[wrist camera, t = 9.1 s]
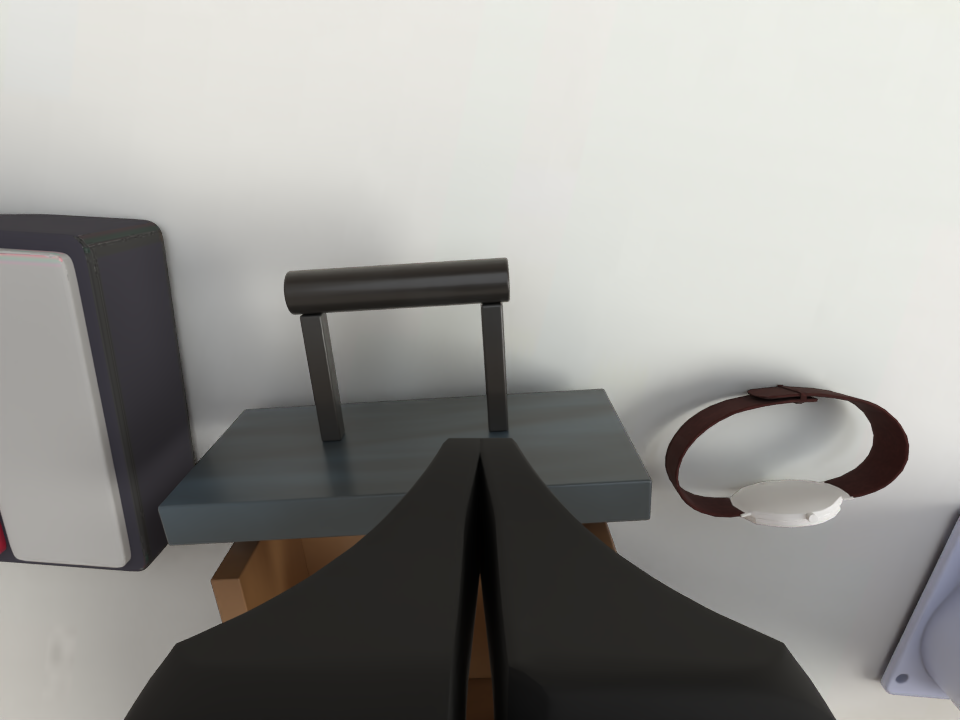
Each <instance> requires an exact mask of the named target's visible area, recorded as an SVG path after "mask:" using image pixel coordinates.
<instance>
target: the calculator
mask: <svg viewBox="0 0 960 720" xmlns="http://www.w3.org/2000/svg"><path fill="white" fill-rule="evenodd" d="M194 466H195V461H194V454H193V447H192V440H191V433H190V426H189V419H188V412H187V404H186V397H185V390H184V383H183V376H182V369H181V362H180V355H179V348H178V341H177V334H176V327H175V320H174V313H173V306H172V299H171V292H170V284H169V277H168V270H167V263H166V256H165V249H164V242H163V237H162V233H161V231H160V229H159V227H158V226H157V225H156V224H154V223H153V222H151V221H147V220H135V219H119V218H102V217H84V216H66V215H45V214H17V215H0V561H2V562H15V563H29V564H42V565H55V566H68V567H82V568H95V569H108V570H121V571H142V570H145V569H146V568H147V567H148V566H149V565H150V564H151V563H152V562H153V560H154V559H155V558H156V557H157V556H158V555H159V554H160V553H161V551H162V550H163V549H164V548H165V547H166V546H167V544H168V541H167V538H166V534H165V531H164V528H163V524H162V521H161V518H160V515H159V511H158V507H159V505H160V504H161V503H162V502H163V501H164V500H165V499H166V498H167V496H168V495H169V494H170V493H171V492H172V491H173V490H174V489H175V487H176V486H177V485H178V484H179V483H180V482H181V481H182V480H183V479H184V477H185V476H186V475H187V474H188V473H189V472H190V471H191V470H192V468H193V467H194Z"/></svg>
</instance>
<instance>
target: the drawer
mask: <svg viewBox="0 0 960 720" xmlns="http://www.w3.org/2000/svg"><path fill="white" fill-rule="evenodd" d="M284 295H285V301H286V304H287V307H288V309H289V311H290V312H291V313H292V314H294V315H300V314H303V315H302V316H300V321H301V327H302V332H303V338H304V344H305V349H306V355H307V361H308V366H309V372H310V377H311V383H312V389H313V394H314V400H315V405H314V406H296V407H279V408H262V409H246V410H244V411H243V413H242V414H241V415H240V416H239V417H238V418H237V419H236V420H235V421H234V423H233V424H232V425H231V426H230V427H229V428H228V429H227V430H226V432H225V433H224V434H223V435H222V436H221V437H220V438H219V439H218V440H217V442H216V443H215V444H214V445H213V446H212V447H211V448H210V449H209V451H208V452H207V453H206V454H205V455H204V456H203V457H202V458H201V460H200V461H199V462H198V463H197V464H196V465H195V466H194V467H193V468H192V470H191V471H190V472H189V473H188V474H187V475H186V476H185V477H184V479H183V480H182V481H181V482H180V483H179V484H178V485H177V486H176V487H175V489H174V490H173V491H172V492H171V493H170V494H169V495H168V496H167V498H166V499H165V500H164V501H163V502H162V503H161V504H160V505H159V507H158V511H159V515H160V518H161V521H162V524H163V528H164V531H165V534H166V538H167V541H168V544H169V545H190V544H208V543H227V542H234V543H233V545H232V547H231V548H230V550H229V551H228V553H227V555H226V556H225V558H224V560H223V561H222V563H221V564H220V566H219V568H218V569H217V571H216V572H215V574H214V576H213V577H212V579H211V584H212V588H213V591H214V595H215V598H216V602H217V605H218V609H219V613H220V616H221V620H222V623H224V622H226V621H228V620H230V619H232V618H234V617H237V616H239V615H241V614H243V613H245V612H247V611H249V610H251V609H253V608H255V607H257V606H259V605H261V604H263V603H265V602H266V601H268V600H270V599H272V598H274V597H275V596H277V595H279V594H281V593H283V592H284V591H286V590H288V589H290V588H291V587H293V586H295V585H296V584H298V583H300V582H301V581H303V580H305V579H306V578H308V577H309V576H311V575H313V574H314V573H316V572H317V571H318V570H320V569H321V568H323V567H324V566H325V565H327V564H328V563H330V562H331V561H333V560H334V559H335V558H337V557H338V556H340V555H341V554H342V553H344V552H345V551H347V550H348V549H350V548H351V547H352V546H353V545H355V544H356V543H357V542H358V541H359V540H361V539H362V538H363V537H364V536H365V535H366V534H368V533H369V532H370V531H371V530H372V529H373V528H374V527H375V526H376V525H377V524H378V523H379V522H380V521H381V520H382V519H383V518H384V517H385V516H386V515H387V514H388V513H389V512H390V511H391V510H392V509H393V508H394V507H395V506H396V505H397V504H398V503H399V501H400V500H401V499H402V498H403V497H404V496H405V495H406V494H407V493H408V491H409V490H410V489H411V488H412V487H413V485H414V484H415V483H416V482H417V480H418V479H419V478H420V476H421V475H422V474H423V473H424V471H425V470H426V469H427V467H428V466H429V464H430V463H431V462H432V460H433V459H434V457H435V456H436V454H437V453H438V451H439V449H440V448H441V446H442V444H443V443H444V442H445V441H446V440H447V439H448V438H512V439H513V440H514V441H515V442H516V443H517V444H518V446H519V448H520V450H521V451H522V453H523V454H524V456H525V458H526V459H527V461H528V462H529V463H530V465H531V466H532V468H533V469H534V470H535V472H536V473H537V474H538V476H539V477H540V478H541V479H542V481H543V482H544V483H545V484H546V486H547V487H548V488H549V489H550V490H551V492H552V493H553V494H554V495H555V496H556V498H557V499H558V500H559V501H560V502H561V503H562V504H563V505H564V506H565V507H566V508H567V510H568V511H569V512H570V513H571V514H572V515H573V516H574V517H575V518H576V519H577V520H578V521H579V522H580V523H581V524H582V525H583V526H584V527H586V528H587V529H588V530H589V531H590V532H592V533H593V534H594V535H595V536H596V537H598V538H599V539H600V540H601V541H602V542H604V543H605V544H606V545H607V546H608V547H610V548H611V549H612V550H614V551H615V552H616V553H617V551H616V548H615V545H614V542H613V539H612V537H611V534H610V531H609V528H608V525H607V522H620V521H639V520H649V519H650V510H651V490H652V480H651V478H650V476H649V474H648V473H647V471H646V469H645V467H644V465H643V463H642V461H641V459H640V457H639V455H638V453H637V452H636V450H635V448H634V446H633V444H632V442H631V440H630V438H629V436H628V434H627V432H626V430H625V429H624V427H623V425H622V423H621V421H620V419H619V417H618V415H617V413H616V411H615V409H614V408H613V406H612V404H611V402H610V400H609V398H608V396H607V394H606V392H605V390H604V389H591V390H573V391H556V392H539V393H521V394H507V384H506V364H505V343H504V323H503V305H502V302H508V301H509V300H510V285H509V268H508V260H507V258H492V259H476V260H460V261H444V262H428V263H412V264H396V265H380V266H364V267H348V268H332V269H316V270H299V271H289V272H288V273H287V274H286V276H285V280H284ZM480 303H481V318H482V334H483V350H484V365H485V381H486V396H470V397H452V398H435V399H418V400H400V401H383V402H366V403H348V404H341V403H340V397H339V391H338V385H337V378H336V372H335V366H334V360H333V354H332V347H331V341H330V335H329V329H328V322H327V316H326V313H332V312H349V311H365V310H382V309H398V308H415V307H431V306H448V305H464V304H480ZM466 720H494V706H493V692H492V679H491V669H490V660H489V651H488V642H487V633H486V624H485V615H484V605H483V596H482V587H481V577H480V578H479V587H478V597H477V606H476V615H475V624H474V633H473V642H472V652H471V661H470V670H469V679H468V692H467V707H466Z"/></svg>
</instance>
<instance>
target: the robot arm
mask: <svg viewBox="0 0 960 720" xmlns="http://www.w3.org/2000/svg"><path fill="white" fill-rule="evenodd" d="M480 577H481V587H482V596H483V605H484V615H485V624H486V633H487V642H488V651H489V660H490V669H491V679H492V692H493V706H494V720H836V719H835V717H834V716H833V714H832V712H831V711H830V709H829V708H828V706H827V704H826V702H825V701H824V699H823V698H822V696H821V695H820V693H819V692H818V690H817V689H816V687H815V686H814V684H813V683H812V681H811V680H810V678H809V677H808V676H807V674H806V673H805V672H804V670H803V669H802V668H801V666H800V665H799V664H798V662H797V661H796V660H795V658H794V657H793V656H792V654H791V653H790V651H789V650H788V649H787V647H786V646H785V644H784V643H782V642H780V641H778V640H776V639H773V638H771V637H769V636H767V635H764V634H762V633H760V632H758V631H756V630H753V629H751V628H749V627H747V626H744V625H742V624H740V623H738V622H736V621H733V620H731V619H729V618H727V617H724V616H722V615H720V614H718V613H716V612H714V611H712V610H710V609H708V608H706V607H704V606H702V605H700V604H698V603H697V602H695V601H693V600H691V599H689V598H687V597H686V596H684V595H682V594H680V593H678V592H676V591H675V590H673V589H671V588H669V587H668V586H666V585H664V584H663V583H661V582H659V581H658V580H656V579H655V578H653V577H651V576H650V575H648V574H647V573H645V572H644V571H642V570H641V569H639V568H638V567H636V566H635V565H633V564H632V563H631V562H629V561H628V560H626V559H625V558H623V557H622V556H620V555H619V554H618V553H616V552H615V551H614V550H612V549H611V548H610V547H608V546H607V545H606V544H605V543H604V542H602V541H601V540H600V539H599V538H598V537H596V536H595V535H594V534H593V533H592V532H590V531H589V530H588V529H587V528H586V527H584V526H583V525H582V524H581V523H580V522H579V521H578V520H577V519H576V518H575V517H574V516H573V515H572V514H571V513H570V512H569V511H568V510H567V508H566V507H565V506H564V505H563V504H562V503H561V502H560V501H559V500H558V499H557V498H556V496H555V495H554V494H553V493H552V492H551V490H550V489H549V488H548V487H547V486H546V484H545V483H544V482H543V481H542V479H541V478H540V477H539V476H538V474H537V473H536V472H535V470H534V469H533V468H532V466H531V465H530V463H529V462H528V461H527V459H526V458H525V456H524V454H523V453H522V451H521V450H520V448H519V446H518V444H517V443H516V442H515V441H514V440H513V439H512V438H448V439H447V440H446V441H445V442H444V443H443V444H442V446H441V448H440V449H439V451H438V453H437V454H436V456H435V457H434V459H433V460H432V462H431V463H430V464H429V466H428V467H427V469H426V470H425V471H424V473H423V474H422V475H421V476H420V478H419V479H418V480H417V482H416V483H415V484H414V485H413V487H412V488H411V489H410V490H409V491H408V493H407V494H406V495H405V496H404V497H403V498H402V499H401V500H400V501H399V503H398V504H397V505H396V506H395V507H394V508H393V509H392V510H391V511H390V512H389V513H388V514H387V515H386V516H385V517H384V518H383V519H382V520H381V521H380V522H379V523H378V524H377V525H376V526H375V527H374V528H373V529H372V530H371V531H370V532H369V533H368V534H366V535H365V536H364V537H363V538H362V539H361V540H359V541H358V542H357V543H356V544H355V545H353V546H352V547H351V548H350V549H348V550H347V551H345V552H344V553H342V554H341V555H340V556H338V557H337V558H335V559H334V560H333V561H331V562H330V563H328V564H327V565H325V566H324V567H323V568H321V569H320V570H318V571H317V572H316V573H314V574H313V575H311V576H309V577H308V578H306V579H305V580H303V581H301V582H300V583H298V584H296V585H295V586H293V587H291V588H290V589H288V590H286V591H284V592H283V593H281V594H279V595H277V596H275V597H274V598H272V599H270V600H268V601H266V602H265V603H263V604H261V605H259V606H257V607H255V608H253V609H251V610H249V611H247V612H245V613H243V614H241V615H239V616H237V617H234V618H232V619H230V620H228V621H226V622H224V623H221V624H219V625H217V626H215V627H213V628H211V629H208V630H206V631H204V632H202V633H200V634H198V635H195V636H193V637H191V638H189V639H186V640H184V641H181V642H179V643H177V644H176V645H175V646H174V647H173V649H172V650H171V652H170V653H169V654H168V656H167V657H166V658H165V660H164V661H163V662H162V664H161V665H160V666H159V668H158V669H157V670H156V672H155V673H154V674H153V676H152V677H151V678H150V680H149V681H148V683H147V684H146V686H145V687H144V689H143V690H142V692H141V693H140V695H139V697H138V698H137V700H136V701H135V703H134V704H133V706H132V707H131V709H130V711H129V712H128V714H127V716H126V717H125V719H124V720H466V707H467V692H468V679H469V670H470V661H471V652H472V642H473V633H474V624H475V615H476V606H477V597H478V587H479V578H480ZM881 685H882V686H883V688H884V689H885V690H886V692H888V693H889V694H893V695H905V696H917V697H929V698H941V699H950V700H951V701H952V702H953V703H954V704H955V705H956V707H957V708H958V709H959V710H960V516H959V518H958V520H957V522H956V524H955V526H954V528H953V531H952V533H951V535H950V537H949V539H948V541H947V543H946V545H945V547H944V549H943V551H942V553H941V556H940V558H939V560H938V562H937V564H936V566H935V568H934V570H933V572H932V574H931V576H930V578H929V581H928V583H927V585H926V587H925V589H924V591H923V593H922V595H921V597H920V599H919V601H918V603H917V606H916V608H915V610H914V612H913V614H912V616H911V618H910V620H909V622H908V624H907V626H906V628H905V631H904V633H903V635H902V637H901V639H900V641H899V643H898V645H897V647H896V649H895V651H894V654H893V656H892V658H891V660H890V662H889V664H888V666H887V668H886V670H885V672H884V674H883V676H882V679H881Z"/></svg>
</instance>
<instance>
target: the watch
mask: <svg viewBox="0 0 960 720" xmlns="http://www.w3.org/2000/svg"><path fill="white" fill-rule="evenodd" d="M747 392H748V394H749V395H747V396H742V397H738V398H733V399H729V400H725V401H722V402H720V403H717V404H714V405H712V406H709V407H708V408H706V409H704V410H702V411H700V412H699V413H697V414H696V415H694V416H693V417H691V418H690V419H689V420H688V421H686V422H685V423H684V424H683V425H682V426H681V427H680V429H679V430H678V431H677V433H676V434H675V435H674V437H673V439H672V440H671V442H670V444H669V446H668V449H667V452H666V457H665V467H666V471H667V474H668V477H669V479H670V481H671V482H672V484H673V486H674V487H675V489H676V490H677V492H678V493H679V495H680V497H681V498H682V499H683V501H684V502H685V503H686V504H687V505H689V506H690V507H692V508H693V509H694V510H696V511H699V512H701V513H704V514H708V515H711V516H715V517H737V516H740V517H743V518H745V519H747V520H749V521H751V522H753V523H755V524H760V525H767V526H775V527H802V526H811V525H816V524H820V523H824V522H826V521H828V520H830V519H831V518H833V517H835V516H836V515H837V513H838V512H839V511H840V510H841V508H840V504H841V503H842V501H843V500H854V498H856V497H861V496H864V495H867V494H870V493H873V492H876V491H878V490H880V489H882V488H884V487H886V486H887V485H889V484H890V483H891V482H892V481H894V480H895V479H896V478H897V476H898V475H899V474H900V473H901V472H902V471H903V469H904V467H905V465H906V463H907V461H908V455H909V443H908V438H907V435H906V433H905V432H904V430H903V428H902V426H901V425H900V423H899V422H898V421H897V420H896V419H895V418H894V417H893V416H892V415H891V414H890V413H888V412H887V411H886V410H885V409H883V408H882V407H880V406H878V405H876V404H874V403H871V402H869V401H865V400H862V399H858V398H855V397H851V396H847V395H844V394H840V393H836V392H833V391H829V390H822V389H815V388H803V387H788V386H783V385H778V387H769V388H760V389H751V390H749V391H747ZM810 396H815V397H827V398H836V399H841V400H846V401H849V402H851V403H853V404H854V405H856V406H857V407H858V408H859V409H860V410H861V411H862V412H864V414H865V415H866V417H867V418H868V420H869V422H870V423H871V427H872V431H873V435H874V436H873V446H872V448H871V450H870V453H869V455H868V456H867V457H866V459H865V460H864V461H863V462H862V463H861V464H860V465H859V466H858V467H857V468H855V469H854V470H852V471H850V472H848V473H846V474H844V475H843V476H841V477H837V478H834V479H831V480H827V481H824V482H819V483H818V482H814V481H806V480H791V479H790V480H776V481H764V482H760V483H756V484H752V485H749V486H746V487H743V488H741V489H740V490H739V491H738V492H736V493H735V494H734V495H733V496H732V497H729V498H714V497H703V496H699V495H694V494H692V493H690V492H687V491H685V490H684V489H683V488H681V487H680V485H679V481H678V474H679V467H680V464H681V461H682V458H683V457H684V455H685V453H686V451H687V450H688V448H689V447H690V446H691V445H692V443H693V442H694V441H695V440H696V439H697V438H698V437H699V436H700V435H701V434H702V433H704V432H705V431H706V430H707V429H708V428H710V427H711V426H713V425H714V424H716V423H718V422H719V421H721V420H723V419H725V418H727V417H729V416H731V415H733V414H736V413H739V412H743V411H747V410H751V409H755V408H759V407H764V406H770V405H776V404H784V403H796V404H802V403H804V402H817V401H818V399H817V398H814V397H810Z"/></svg>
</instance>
